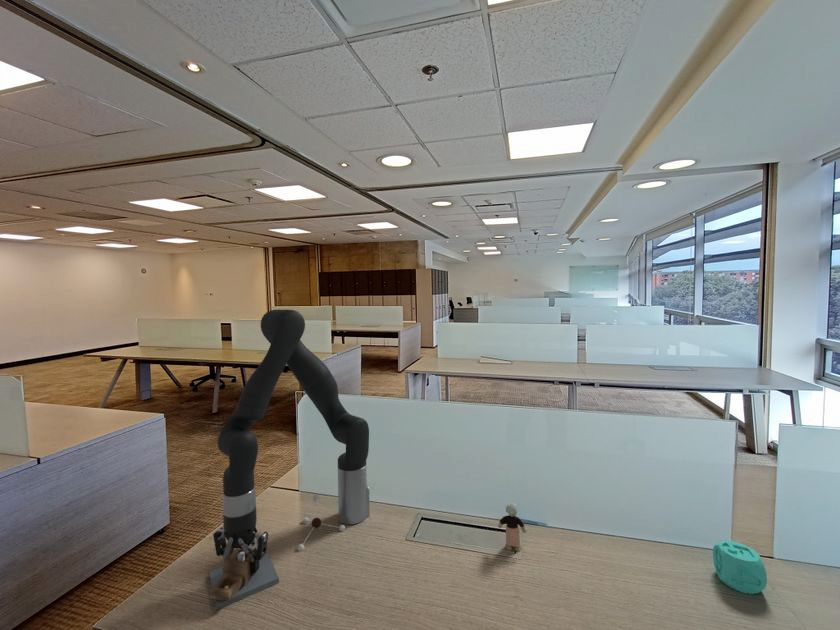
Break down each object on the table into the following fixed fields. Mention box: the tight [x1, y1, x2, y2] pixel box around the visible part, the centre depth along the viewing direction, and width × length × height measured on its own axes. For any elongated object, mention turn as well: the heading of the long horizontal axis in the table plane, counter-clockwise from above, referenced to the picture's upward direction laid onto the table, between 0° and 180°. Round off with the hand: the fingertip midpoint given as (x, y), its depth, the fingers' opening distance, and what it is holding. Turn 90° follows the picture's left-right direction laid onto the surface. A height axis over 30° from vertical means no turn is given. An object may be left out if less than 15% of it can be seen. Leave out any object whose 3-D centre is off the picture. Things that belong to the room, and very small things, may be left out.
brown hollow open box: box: [210, 548, 260, 601], centre depth 91 cm, size 6×11×5 cm, turn 171°
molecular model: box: [297, 493, 346, 552], centre depth 113 cm, size 13×15×13 cm
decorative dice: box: [712, 540, 768, 595], centre depth 92 cm, size 8×8×8 cm
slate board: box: [208, 550, 280, 611], centre depth 94 cm, size 14×13×7 cm
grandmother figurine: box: [497, 502, 527, 552], centre depth 105 cm, size 8×4×13 cm, turn 84°
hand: (242, 571), depth 94 cm, fingers closed on brown hollow open box, 6 cm apart
